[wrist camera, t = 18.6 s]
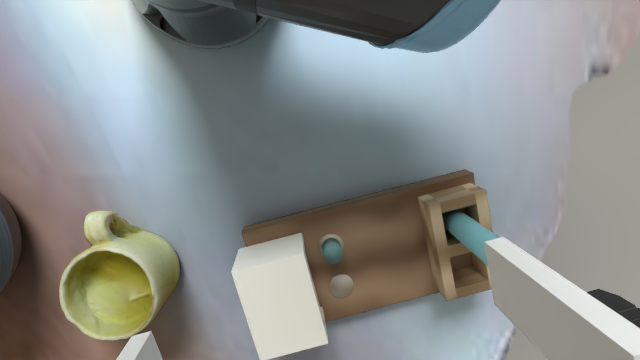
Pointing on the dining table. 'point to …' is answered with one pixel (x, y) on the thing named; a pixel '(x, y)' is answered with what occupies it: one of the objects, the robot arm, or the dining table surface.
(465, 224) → the peg
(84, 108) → the dining table surface
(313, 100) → the dining table surface
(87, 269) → the mug
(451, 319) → the dining table surface
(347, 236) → the board
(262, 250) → the cover
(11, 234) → the vase
